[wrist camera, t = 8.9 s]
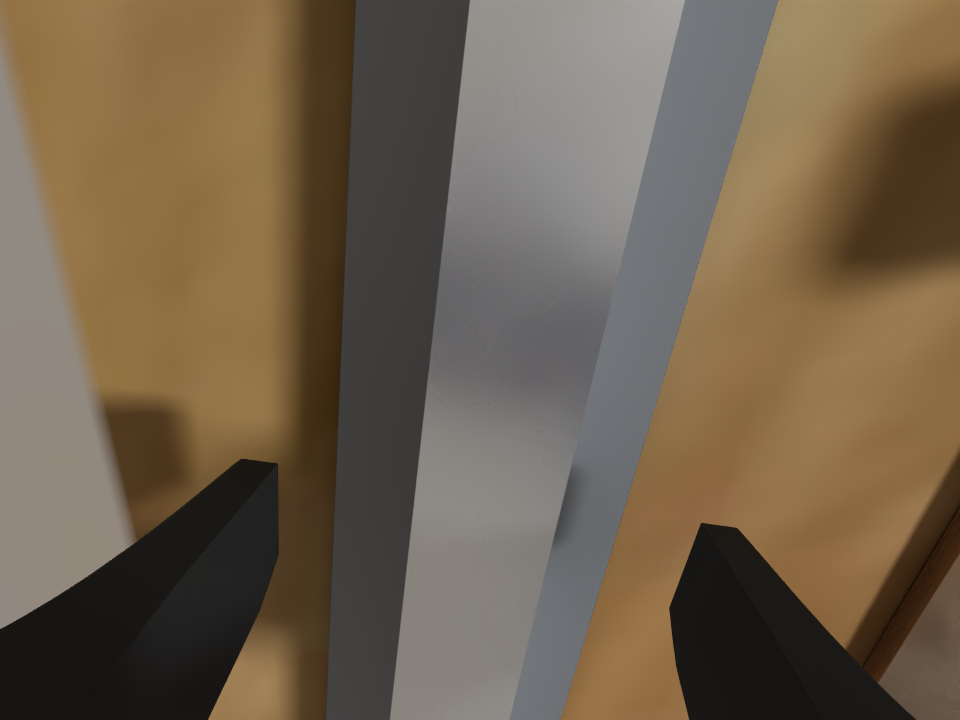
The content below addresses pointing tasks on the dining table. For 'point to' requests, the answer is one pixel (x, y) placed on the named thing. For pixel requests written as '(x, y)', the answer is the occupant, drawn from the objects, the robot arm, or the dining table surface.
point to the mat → (411, 312)
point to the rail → (519, 325)
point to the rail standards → (926, 638)
